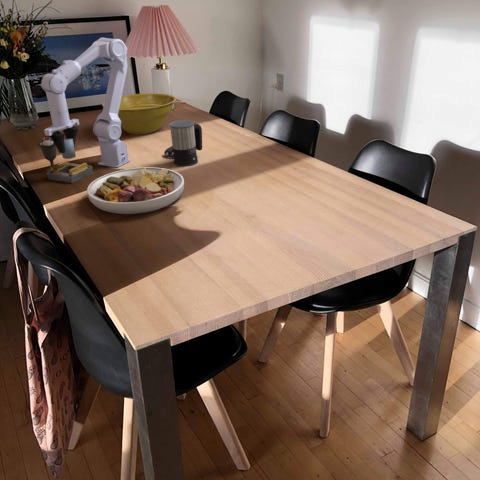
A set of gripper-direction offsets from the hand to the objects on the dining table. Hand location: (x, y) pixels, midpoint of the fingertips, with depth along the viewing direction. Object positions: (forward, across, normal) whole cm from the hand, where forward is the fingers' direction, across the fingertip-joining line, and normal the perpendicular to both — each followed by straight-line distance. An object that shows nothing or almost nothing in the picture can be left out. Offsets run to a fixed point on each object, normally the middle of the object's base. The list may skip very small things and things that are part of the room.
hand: (67, 150), depth 176 cm
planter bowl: (+10, +58, +10) cm, 59 cm away
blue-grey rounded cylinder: (+2, 0, 0) cm, 2 cm away
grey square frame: (+9, 0, 0) cm, 9 cm away
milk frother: (+10, +28, -28) cm, 41 cm away
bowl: (+10, -8, -34) cm, 36 cm away
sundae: (+10, +3, +11) cm, 15 cm away
